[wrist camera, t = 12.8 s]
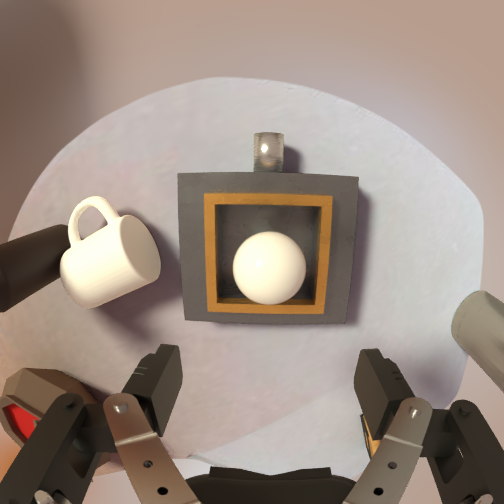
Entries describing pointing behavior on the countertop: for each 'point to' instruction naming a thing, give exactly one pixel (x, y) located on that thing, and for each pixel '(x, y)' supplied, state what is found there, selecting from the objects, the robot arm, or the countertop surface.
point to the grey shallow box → (261, 220)
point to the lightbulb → (269, 268)
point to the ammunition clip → (369, 438)
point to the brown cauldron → (36, 401)
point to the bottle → (31, 263)
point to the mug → (108, 257)
